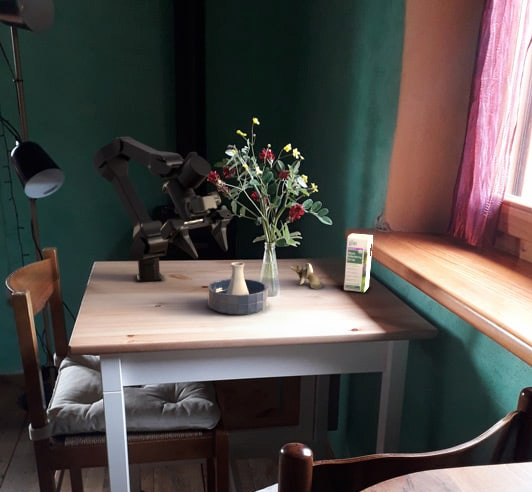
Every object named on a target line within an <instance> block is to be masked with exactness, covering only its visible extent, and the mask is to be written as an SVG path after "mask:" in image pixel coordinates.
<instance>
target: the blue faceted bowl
mask: <svg viewBox="0 0 532 492" xmlns="http://www.w3.org/2000/svg"><path fill="white" fill-rule="evenodd" d="M244 280H245V283H246V287H247V290H248V292H249V294H248V295H229V294H226V293H227V290H228V287H229V284H230V281H231V278H226V279H220V280H216V281H213V282H211V283H209V284H208V285H207V305H208V307H209V308H210V309H212V310H214V311H216V312H218V313H220V314H226V315H233V316H234V315H235V316H236V315H238V316H239V315H240V316H241V315H251V314H256V313H258V312H261V311H263V310H265V309H266V308H267V306H268V301H269V300H268V298H269V297H268V296H269V295H268V294H269V286H268V284H266V283H264V282H263V281H260V280H255V279H249V278H244Z"/></svg>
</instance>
